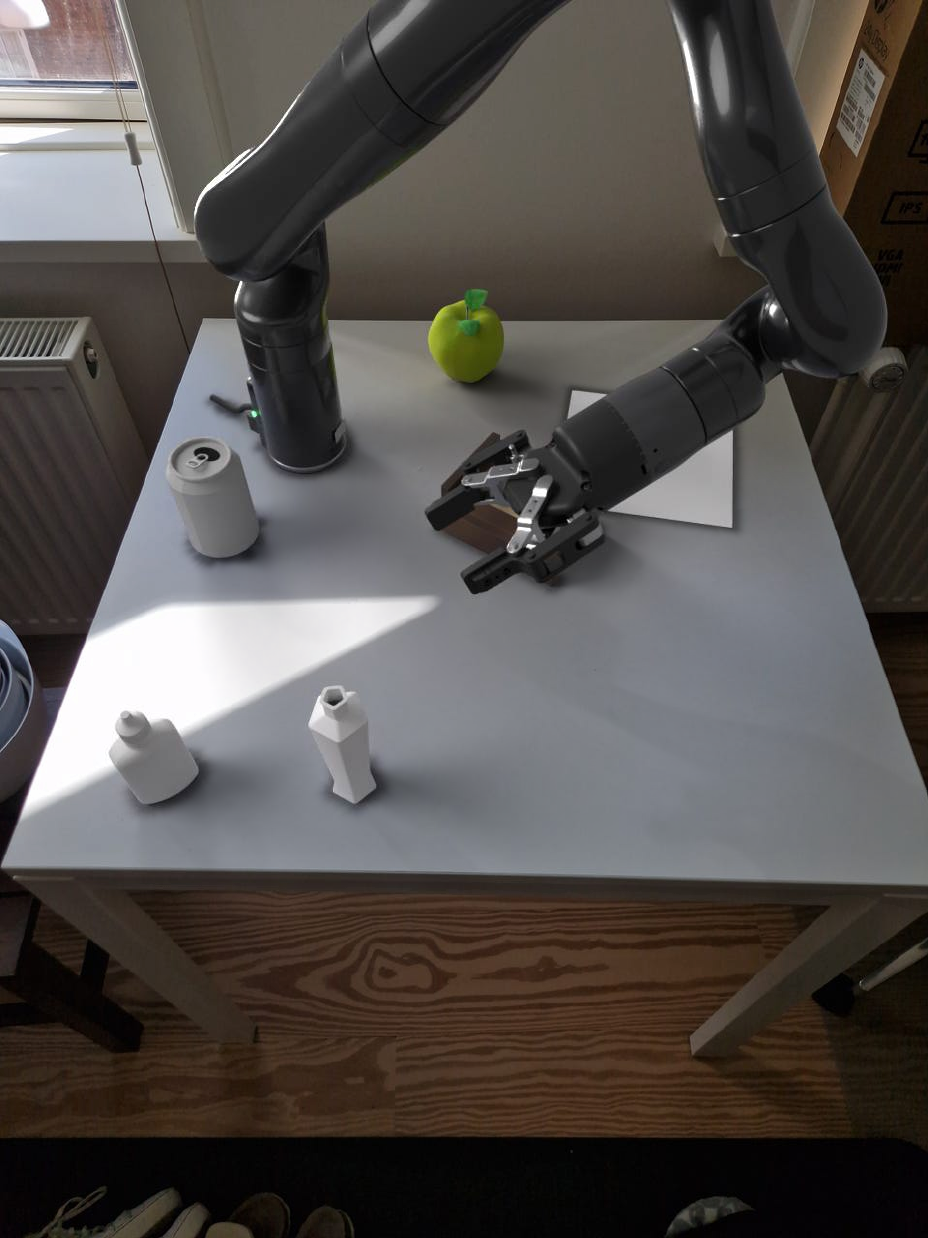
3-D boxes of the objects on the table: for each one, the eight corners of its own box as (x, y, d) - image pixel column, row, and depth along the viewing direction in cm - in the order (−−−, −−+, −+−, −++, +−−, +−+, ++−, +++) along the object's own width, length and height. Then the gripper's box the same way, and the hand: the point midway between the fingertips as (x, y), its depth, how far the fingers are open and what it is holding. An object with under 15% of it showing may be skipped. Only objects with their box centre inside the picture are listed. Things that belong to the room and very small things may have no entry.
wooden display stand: (441, 530, 94) (440, 485, 88) (491, 477, 99) (493, 431, 93) (551, 587, 89) (557, 543, 84) (597, 528, 94) (606, 482, 89)
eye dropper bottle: (138, 762, 77) (91, 694, 68) (201, 756, 78) (163, 687, 68) (133, 807, 75) (84, 743, 65) (198, 800, 75) (158, 735, 66)
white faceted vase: (373, 811, 75) (355, 729, 63) (325, 802, 75) (298, 718, 63) (386, 764, 77) (372, 676, 65) (340, 756, 78) (317, 667, 66)
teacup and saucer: (668, 424, 104) (674, 397, 101) (664, 469, 100) (671, 443, 96) (596, 415, 105) (600, 388, 102) (589, 460, 100) (594, 433, 97)
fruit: (508, 356, 112) (512, 287, 104) (492, 402, 107) (495, 333, 99) (441, 346, 113) (439, 277, 105) (422, 390, 108) (418, 321, 100)
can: (274, 524, 95) (252, 442, 85) (236, 572, 91) (209, 492, 81) (217, 503, 96) (190, 421, 87) (178, 549, 92) (144, 468, 83)
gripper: (572, 362, 67) (397, 471, 68) (664, 449, 57) (458, 575, 58) (599, 432, 73) (437, 533, 73) (688, 523, 63) (499, 638, 63)
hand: (446, 552), depth 66 cm, fingers open, 8 cm apart
